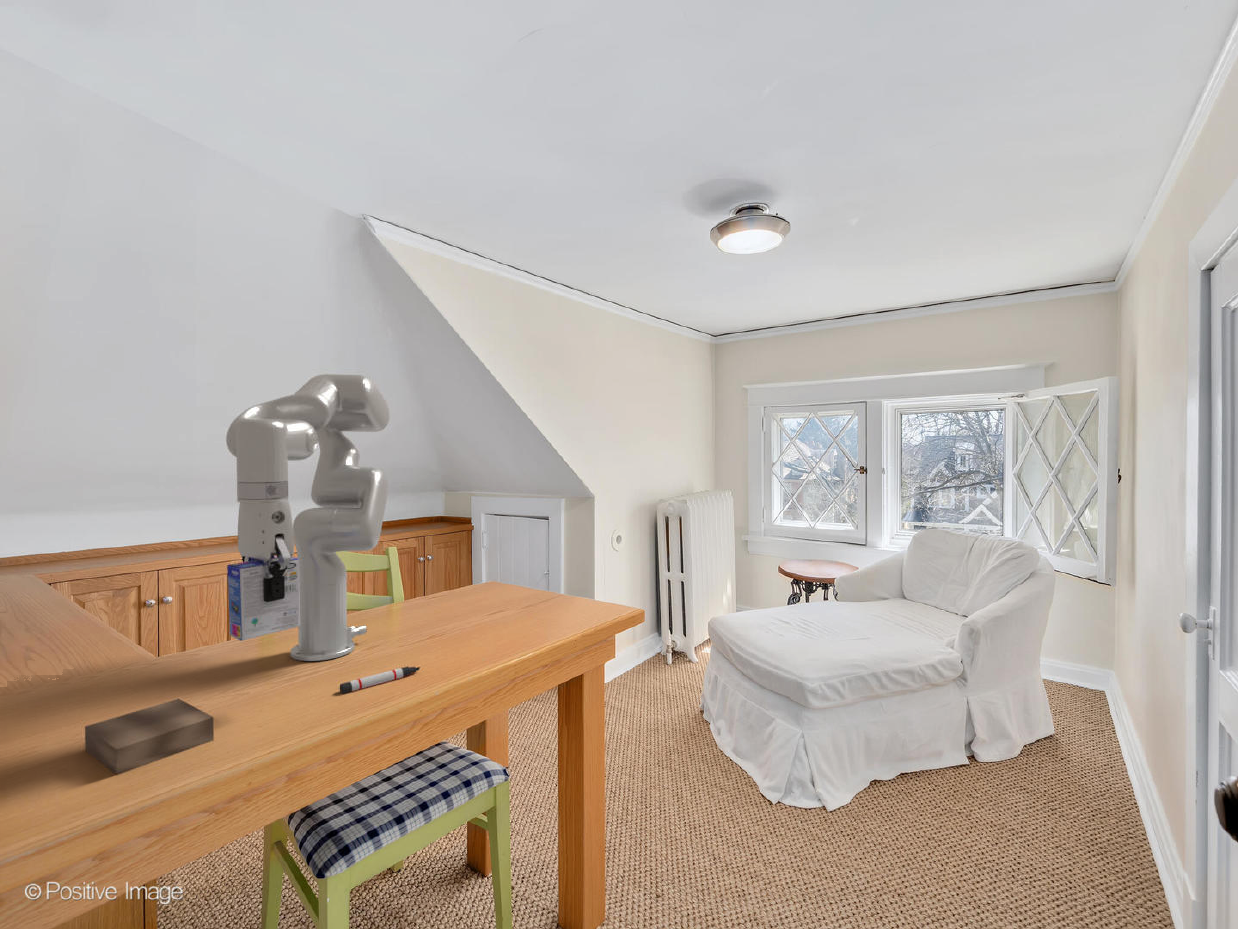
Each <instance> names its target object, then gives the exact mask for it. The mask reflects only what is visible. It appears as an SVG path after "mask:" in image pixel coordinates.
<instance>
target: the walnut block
mask: <svg viewBox="0 0 1238 929" xmlns="http://www.w3.org/2000/svg"><path fill="white" fill-rule="evenodd" d="M214 724H215V723H214V716H212V715H210V714H208V713H207V712H204V711H203V710H201V709H199V708H197V707H195V706H193V705H191V704H190V703H188V702H186V701H184V700H182V699H180V698H177V699H173V700H170V701H167V702H163V703H160V704H156V705H153V706H149V707H146V708H142V709H140V710H136V711H133V712H129V713H125V714H123V715H119V716H115V717H112V718H110V719H109V718H108V719H106V720H102V721H99V722H96V723H92V724H88V725H86V726H84V745H85V746H84V748H85V752H86V753H88V754H89V755H90V756H92V757H93V758H94V759H96V760H97V761H98V762H99V763H100V764H102V765H103V766H104V767H106V768H107V769H109V770H110V771H111V772H113V773H114V775H116V776H118V775H122V774H125V773H127V772H130V771H132V770H135V769H137V768H141V767H144V766H146V765H148V764H149V765H150V764H153V763H155V762H157V761H160V760H163V759H166V758H169V757H171V756H174V755H176V754H179V753H182V752H185V751H188V750H191V749H193V748H196V747H199V746H201V745H204V744H207V743H210V742H213V741H214V739H215V737H214Z"/></svg>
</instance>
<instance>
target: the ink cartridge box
mask: <svg viewBox="0 0 1238 929" xmlns="http://www.w3.org/2000/svg"><path fill="white" fill-rule="evenodd" d="M272 558H277V556H275V555H273V556H271V558H270V559H272ZM250 559H251V561H247V562H243V561H242V562H236V563H231V564H227V565H226V567H227V569H226V570H227V589H228V593H227V594H228V612H229V613H228V617H229V618H228V620H229V621H228V622H229V636H231V637H233V638H234V639H237V640H238V641H240V642H242V641H247V640H250V639H254V638H259V637H262V636H263V637H264V636H266V635H271V634H275V633H279V632H282V631H286V630H291V629H295V628H299V626H300V593H299V559H298V558H297V557H293V556H292V557H291V562H290V563H289V564H288V566H287V569H286V575H285V576H284V582H285V597H284V598H283V599H280V600H276V601H271V602H265V601H264V582H263V578H266V574H265V568H264V563H263V561H261V560H257V559H253V558H251V557H250ZM275 563H277V562H274V563H271V568H272V567H273V566H274V564H275Z"/></svg>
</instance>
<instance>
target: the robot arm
mask: <svg viewBox="0 0 1238 929" xmlns="http://www.w3.org/2000/svg"><path fill="white" fill-rule="evenodd" d="M389 422H390V409H389V405H388V403H387V401H386V398H385V397H384V395H383V394H382V393H381V391H380V389H379V387H378V386H377V385H376V384H375V383H374V381H372V380H371V379H370V378H368V377H367V376H365V375H360V374H328V373H325V374H324V373H323V374H320V375H315V376H313V377H312V378H310V379H309V380H308V381H307V382H306V383H305V384H303V385H302V386H301V387H300V388H299V389H298V390H297V391H296V392H295V393H294V394H290V395H286V396H282V397H279V398H276V399H272V400H269V401H265V402H261V403H257V404H255V405H252V406H251V407H248V408H247V409H246V410H244V411H243V412H242V413H240V414H239V415H238V416H236V418H234V420H233V421H232V422H231V423H230V426H229V427H228V430H227V432H226V436H225V438H226V439H225V440H226V447H227V449H228V451H229V452H230V453H231V455H232V456H234V458H236V497H237V498H236V502H237V503H239V506H238V515H237V516H238V518H237V549H238V552H239V554H240V556H241V561H242V562H247V561H251V559H250V557H251V558H253V559H257V560H261V561H263V563H264V568H265V574H266V578H263V582H264V601H265V602H271V601H276V600H280V599H283V598H284V597H285V582H284V576H285V575H286V569H287V566H288V564H289V563H290V562H291V557H293V556H294V554H295V552H296V556H297V557H296V558H298V559H299V593H300V626H299V627H298V644H296V645H295V646H293V647H292V648H291V649H290V657H291V658H292V659H293V660H296V661H302V662H318V661H327V660H332V659H336V658H340V657H344V656H345V655H348V654H350V653H351V652H352V651H354V649H355V641H353V640H352V639H354V638H355V636H361V635H365V634H366V633H367V631H368V630H367V626H366V625H359V626H356V627H355V626H354V625H352V626H347V624H348V621H347V620H348V619H347V618H348V613H347V612H348V610H347V609H348V608H347V607H348V605H347V603H348V602H347V601H348V599H347V598H348V595H347V594H348V593H347V592H348V591H347V584H348V583H347V580H348V574H347V568H346V566H345V564H344V562H343V561H342V559H341V558H340V557H339V555H338V554H337V553H338V552H366V551H371V550H374V548H376V547H377V545H378V543H379V542H380V538H381V534H382V529H383V528H382V527H383V523H384V522H383V521H384V515H385V512H386V511H385V509H386V503H387V497H388V481H387V477H386V475H385V473H384V472H383V471H382V470H381V469H380V468H376V467H372V466H365V467H364V466H363V467H362V466H359V462H360V461H359V460H360V452H359V450H358V448H357V447H356V446H355V444H354V443H353V442H352V441H351V440H350V439H349V438H348V437H347V436H345V434H344V433H343V432H354V433H355V432H359V433H361V432H362V433H363V432H365V433H366V432H367V433H369V432H371V433H374V432H375V433H376V432H382V431H383V430H385V429H386V428H387V426H388V424H389ZM317 447H319V455H318V456H319V457H318V462H317V464H316V469H315V472H314V476H313V479H312V480H313V481H312V484H311V493H310V497H311V500H312V502H313V503H314V505H316V506H317V507H313V508H307V509H305V510H302V511H300V512H299V513H298V514H297V515H296V516H295V518H294V520H293V518H292V512H291V506H290V501H289V464H288V463H289V462H290V461H292V462H293V461H303V460H306V459H308V458H310V457H311V456H312V455H313V454H314V453H315V451H316V449H317ZM295 550H296V551H295ZM273 555H274V556H276V557H277V558H272V559H270V558H271V556H273ZM274 562H277V563H275V564H274V566H273V567H272V568H271V563H274Z"/></svg>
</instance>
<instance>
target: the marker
mask: <svg viewBox="0 0 1238 929" xmlns="http://www.w3.org/2000/svg"><path fill="white" fill-rule="evenodd" d="M420 668H421V667H420V666H419V667H418V666H417V667H416V666H410V667H409V666H404V667H400V668H395V669H391V670H388V671H385V672H380V673H376V674H373V675H368V676H364V677H361V678H357V679H353V680H350V681H346V682H342V683H340V684H339V692H340V693H341V694H343V695H344V694H348V693H352V692H357V691H359V690H363V689H366V688H367V689H368V688H371V687H374V686H378V685H381V684H385V683H389V682H392V681H397V680H400V679H403V678H406V677H410V676H411V675H413V674H415V673H417V671H419V670H420Z"/></svg>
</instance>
